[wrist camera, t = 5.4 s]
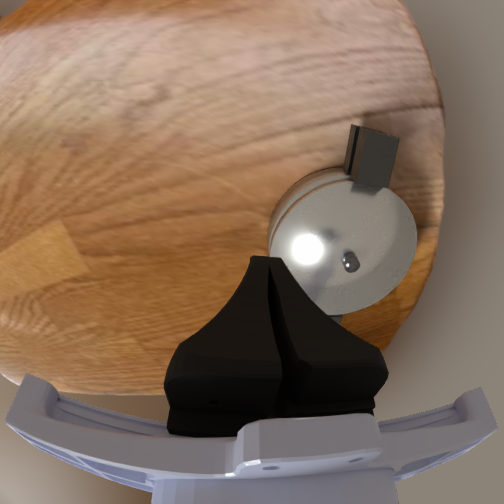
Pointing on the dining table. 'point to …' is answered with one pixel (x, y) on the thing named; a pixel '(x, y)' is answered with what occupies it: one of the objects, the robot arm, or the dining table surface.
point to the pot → (313, 182)
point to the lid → (350, 233)
